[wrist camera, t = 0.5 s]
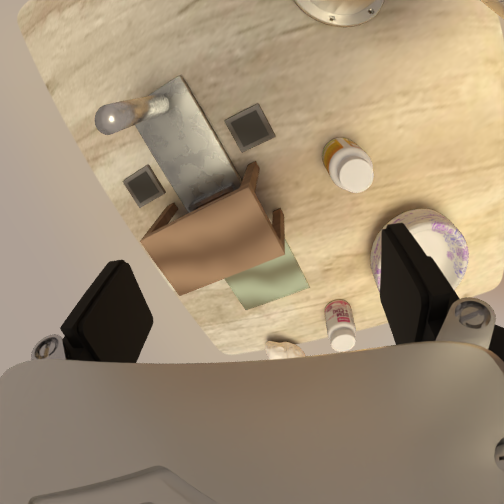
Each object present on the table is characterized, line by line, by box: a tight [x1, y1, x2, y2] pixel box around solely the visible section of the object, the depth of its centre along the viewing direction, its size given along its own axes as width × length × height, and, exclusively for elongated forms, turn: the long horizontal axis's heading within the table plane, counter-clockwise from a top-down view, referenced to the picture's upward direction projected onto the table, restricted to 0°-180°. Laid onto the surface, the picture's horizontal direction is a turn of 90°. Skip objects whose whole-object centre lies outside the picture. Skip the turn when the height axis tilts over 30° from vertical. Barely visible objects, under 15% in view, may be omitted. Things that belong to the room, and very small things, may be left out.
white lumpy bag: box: [265, 341, 305, 360], centre depth 57 cm, size 12×8×11 cm
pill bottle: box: [325, 300, 356, 352], centre depth 51 cm, size 5×5×8 cm
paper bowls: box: [370, 209, 469, 292], centre depth 44 cm, size 15×15×8 cm
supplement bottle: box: [322, 138, 374, 193], centre depth 37 cm, size 5×5×10 cm
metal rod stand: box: [95, 76, 242, 213], centre depth 37 cm, size 24×9×15 cm, turn 28°
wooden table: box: [123, 104, 310, 310], centre depth 43 cm, size 30×23×11 cm
